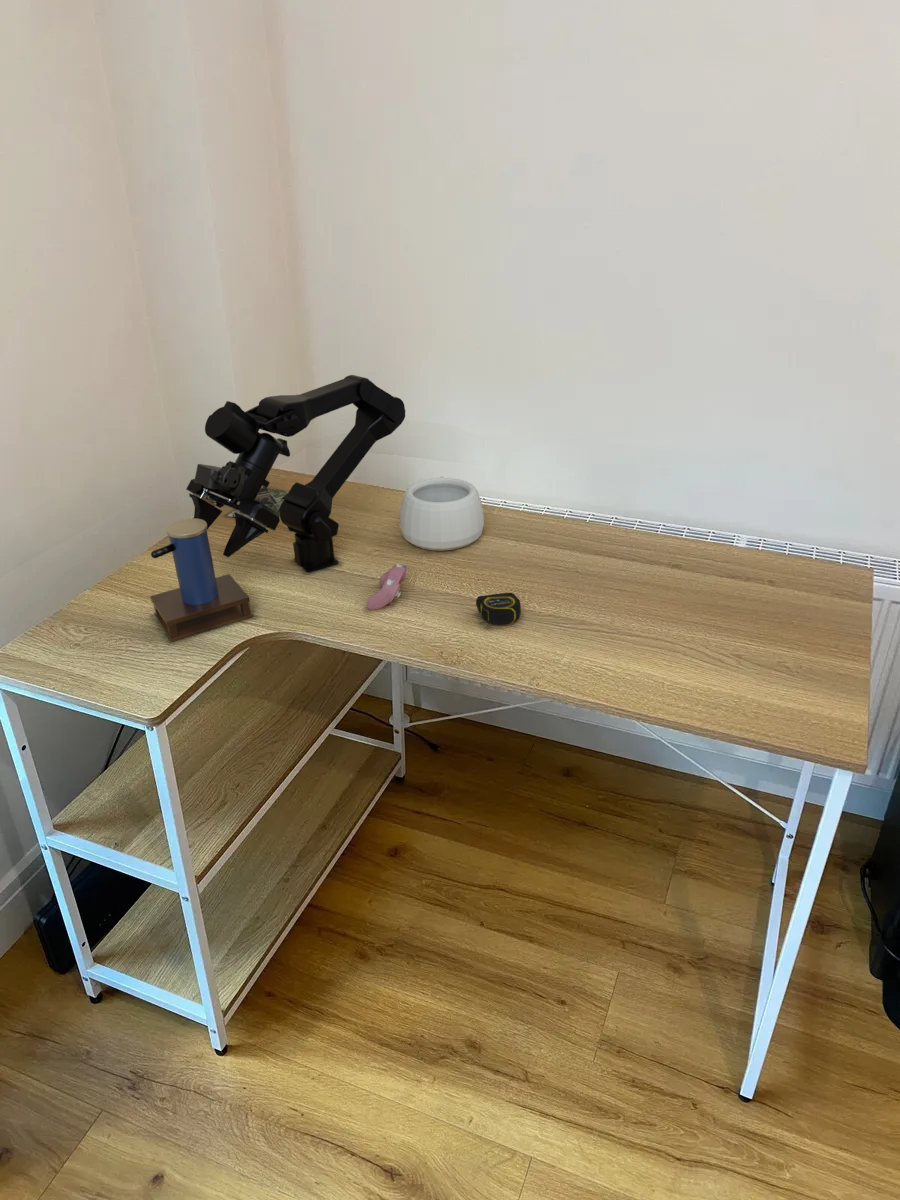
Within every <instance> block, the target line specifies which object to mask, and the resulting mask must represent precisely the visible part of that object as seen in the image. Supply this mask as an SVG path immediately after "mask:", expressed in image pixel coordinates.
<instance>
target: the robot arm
mask: <svg viewBox="0 0 900 1200" xmlns="http://www.w3.org/2000/svg"><path fill="white" fill-rule="evenodd" d="M349 405H353V406H355V407H356V409H357V410H356V411H355V419H354V425H353V427H352V428H351V430H350V431H349V432H348V433H347V435H346V436H345V437H344V439H343V440H342V441H341V442H340V443H339V445H338V446H337V447H336V449H335V450H334V451H333V453H332V454H331V455H330V456H329V458H328V459H327V460H326V462H325V463H324V464H323V465H322V467H321V468H320V469H319V471H317V473H316V475H315V476H314V477H313V478H312V480H310V482H307V483H305V484H304V483H300V482H295V483H294V484H292V485H291V487H290V489H289V490H288V491H289V492H288V493H287V494H286V495H285V496H284V497H282V499H284V501H283V502H282V504H281V505H280V508H279V512H275V511H273V510H272V509H270V508H269V507H267V506H266V505H264V504H262V503H260V502H258V501H255V498H256V496H257V494H258V492H259V491H260V489H261V488H263V486H264V487H267V488H269V485H270V483H271V482H270V481H268V480H267V477H268V475H269V473H270V472H271V470H272V468H273V465H274V464H275V463H276V460H277V459H278V457H279V455H281V456H284V457H288V458H289V457H291V451H290V449H289V446H288V440H286V439H283V438H279V437H278V438H276V437H274V436H273V435H272V434H276V435H280V436H283V437H286V438H287V437H288V438H289V437H293V436H296V435H297V434H299V433H300V432H302V431H303V430H305V429H306V428H308V426H309V425H310V423H311V421H313V420H314V419H316V418H318V417H321V416H324V415H326V414H329V413H331V412H334V411H336V410H339V409H342V408H344V407H346V406H349ZM405 418H406V407H405V403H404V401H403V400H402V399H401V398H399V397H398V396H393V395H392V394H390V393H389V392H387V391H386V390H384V389H382V388H380V387H379V386H378V385H376V384H375V383H374V382H372V380H370V379H369V378H368V377H363V376H361V375H355V374H349V375H347V376H345V377H344V378H342V379H339V380H337V381H333V382H330V383H328V384H325V385H323V386H320V387H317V388H314V389H311V390H308V391H305V392H303V393H301V394H288V395H287V394H280V395H272V396H266V397H264V398H262V399H261V400H260V401H258V405H256V406H254V407H252V408H250V409H248V410H246V411H245V410H243V409H242V408H241V406H239V404H237V403H236V402H233V401H230V400H226V402H225V404H224V405H223V406H222V407H219V408H218V409H215V410H214V412H212V414H210V415H209V416H208V417H207V419H206V422H205V425H204V432H205V435H206V436H207V437H208V438H210V439H211V440H213V441H214V442H216V444H219V445H220V446H222V447H223V448H225V449H226V450H227V451H229V452H230V453H232V454H234V455H237V458H236V459H235V461H231V460H229V461H228V462H226V464H224V465H222V466H221V467H220V466H216V465H210V464H209V465H208V464H203V463H197V465H196V471H195V476H194V478H192V479H191V480H190V481H189V483H188V485H187V486H186V488H185V490H186V491H187V492H189V493H188V496H189V498H191V500H192V503H193V506H194V512H193V518H196V519H202V520H204V521H206V523H207V530H208V529H209V528H211V526H212V525H213V523H214V522H215V521H216V520H217V519H218V518H219V516H221V514H222V513H223V510H221V508H223V507H225V506H226V507H228V508H231V509H233V510H235V509H236V510H238V511H240V512H242V513H244V516H243V515H240V514H238V513H236V512H235V517H234V519H235V520H234V521H235V524H234V527H233V530H232V531H231V533H230V536H229V538H228V540H227V543H226V544H225V547H224V549H223V552H222V555H223V556H224V557H227V558H230V557H231V556H233V555H234V554H235V553H237V551H240V550H241V549H242V548H243V547H244V546H246V545H248V544H249V543H250V542H252V541H253V540H255V539H257V538H258V537H260V536H261V535H263V534H268V533H269V532H270V530H272V531H274V532H275V531H276V530H277V528H278V526H279V523H280V522H281V523H282V524H283V525H284V526H286V527H287V530H288V531H289V532H293V533H294V542H292V543H293V544H292V545H293V551H294V552H293V554H294V558H293V559H294V561H295V563H296V564H297V565H298V566H299V567H301V568H302V569H303V570H304V572H306V573H311V572H316V571H319V570H322V569H325V568H329V567H332V566H336V565H338V564H339V560H338V559H337V558H336V557H335V552H334V543H333V542H334V541H333V537H335V536H337V535H338V532H339V526H340V525H339V523H338V522H336V521H335V520H334V519H332V518H331V517H330V516H331V514H332V507H333V499H334V498H335V496H336V494H337V493H338V492H339V490H340V489H341V488H342V486H343V485H344V484H345V483H346V481H347V480H348V479H349V477H350V476H351V475H352V474H353V472H354V471H355V470H356V469H357V467H358V466H359V465H360V463H361V462H362V460H363V459H364V458H365V456H366V455H367V454H368V452H369V451H370V450H371V448H372V447H373V446H374V444H375V443H376V442H378V441H379V440H382V439H383V438H386V437H388V436H390V435H391V434H393V433H394V432H395V431H396V430H397V429H398V428H399V427H400V426H401V425H402V424H403V422H404V420H405ZM260 430H261V431H264V432H259V431H260ZM269 529H270V530H269Z"/></svg>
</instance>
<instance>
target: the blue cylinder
mask: <svg viewBox="0 0 900 1200" xmlns="http://www.w3.org/2000/svg"><path fill="white" fill-rule="evenodd" d="M165 531H166V535H167V536H168V538H169V544H167V545H165V546H162V547H160V548H157V549H155V550H153V551H151V552H150V556H151V558H152V559H158V558H160V557H163V556H166V555H167V554H170V553H171V554H172V559H173V563H174V566H175V567H174V568H175V572H176V577H177V581H178V586H179V587H178V588H180V592H181V597H182V600H183V602H184V603H186V604H189V605H201V604H206V603H209V602H211V601H213V600H214V599H216V598H217V596H218V588H217V583H216V578H217V576H216V572H215V566H214V562H213V556H212V550H211V546H210V540H209V539H210V538H209V535H208V529H207V523H206V521H204V520H202V519H196V518H194V517H193V518H192V517H190V518H183V519H179V520H176V521H173V522H171V523H169V524H168V525H167V526H166V528H165Z"/></svg>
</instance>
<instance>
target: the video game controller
mask: <svg viewBox="0 0 900 1200" xmlns="http://www.w3.org/2000/svg"><path fill="white" fill-rule="evenodd" d="M408 572H409V567H407V566H406V565H404V564H399V563H396V564H394V565H393V566H392V567H391V568H390V569H389V570H387V571H386V572H384V573H383V574H381V576H380V577H379V579H378V583H379V584H380V586H381V588H380V589H379V590H378V591H377V592H375V593H374V594H372V595H371V596H370V597H368V598H367V600H366V602H365V603H366V604H365V605H366V607H367V609H368V610H372V611H375V610H380V609H382V608H383V607H386V606H387V605H391V603H392V602H393V600H394V599H395V598H397V599H398V598H399V597H400V596H401V594H402V592H401V588H400V587H401V584H402V583H403V581H405V579H406V578H407V575H408Z"/></svg>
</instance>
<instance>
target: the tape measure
mask: <svg viewBox="0 0 900 1200" xmlns="http://www.w3.org/2000/svg"><path fill="white" fill-rule="evenodd" d="M475 601H476V602H475V606H476V608H477V611H478V613H479V614H481V616H480V617H481V619H482V620H483V621H484V622H486V623H487V624H490V625H492V626H507V625H511V624H514V623H516V622H517V621H518V620H519V619H520V617H521V611H522V606H521V600H520V598H518V597H517V596H516V594H515V593H513V592H502V593H493V594H486V595H479V596H477V597H476V599H475Z"/></svg>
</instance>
